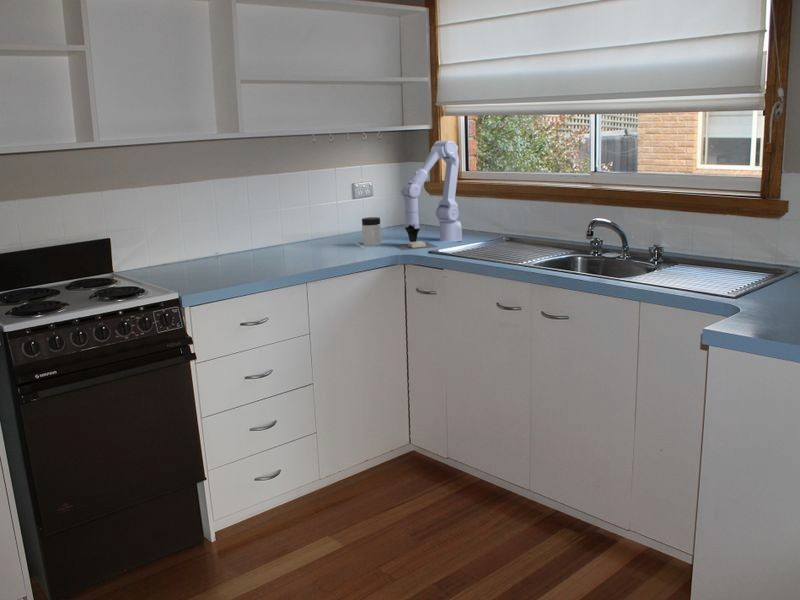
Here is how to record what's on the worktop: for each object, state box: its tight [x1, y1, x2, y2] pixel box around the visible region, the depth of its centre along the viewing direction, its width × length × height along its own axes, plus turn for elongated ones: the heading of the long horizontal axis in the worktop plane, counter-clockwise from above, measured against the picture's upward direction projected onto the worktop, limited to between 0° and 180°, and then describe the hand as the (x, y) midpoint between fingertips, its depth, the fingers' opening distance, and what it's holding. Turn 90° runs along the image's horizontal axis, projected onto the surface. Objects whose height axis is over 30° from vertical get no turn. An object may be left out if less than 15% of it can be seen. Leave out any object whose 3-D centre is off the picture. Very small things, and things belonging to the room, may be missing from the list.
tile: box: [406, 240, 426, 248], centre depth 345 cm, size 6×2×7 cm
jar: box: [361, 216, 382, 246], centre depth 357 cm, size 9×8×12 cm
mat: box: [392, 241, 439, 251], centre depth 347 cm, size 16×16×1 cm
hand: (413, 243), depth 349 cm, fingers closed
